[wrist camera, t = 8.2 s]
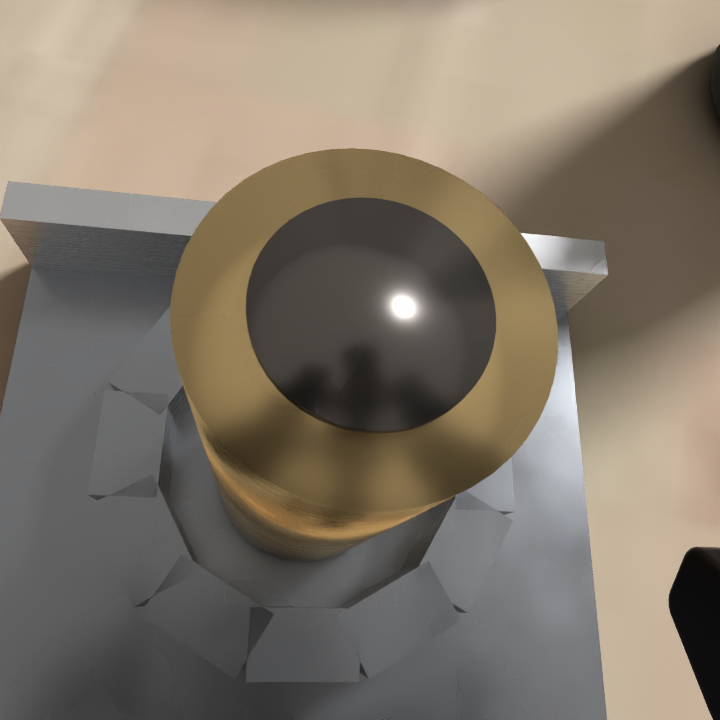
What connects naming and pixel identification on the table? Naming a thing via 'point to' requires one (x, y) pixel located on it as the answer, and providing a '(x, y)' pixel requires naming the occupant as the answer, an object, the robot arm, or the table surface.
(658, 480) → the table surface
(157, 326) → the jig
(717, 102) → the wine bottle
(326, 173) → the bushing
